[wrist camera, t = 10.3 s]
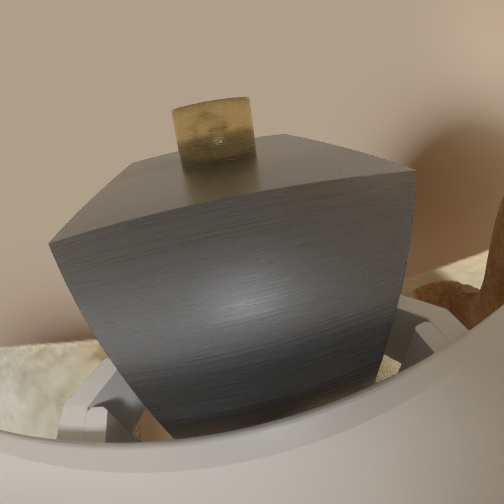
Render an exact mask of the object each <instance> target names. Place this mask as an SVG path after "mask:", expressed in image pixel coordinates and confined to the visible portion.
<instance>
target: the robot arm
mask: <svg viewBox="0 0 504 504" xmlns="http://www.w3.org/2000/svg"><path fill="white" fill-rule="evenodd" d="M384 354H385V355H387V356H389V357H390V358H392V359H394V360H396V361H398V362H400V363H401V367H400V369H399V371H398V373H397V374H395V375H393V376H391V377H389V378H387V379H385V380H383V381H381V382H378V383H376V384H374V385H372V386H370V387H367V388H365V389H363V390H360V391H358V392H356V393H353V394H351V395H348V396H346V397H343V398H341V399H338V400H336V401H333V402H330V403H328V404H325V405H322V406H319V407H316V408H314V409H311V410H308V411H305V412H301V413H298V414H295V415H292V416H288V417H285V418H282V419H278V420H274V421H271V422H267V423H263V424H259V425H255V426H251V427H246V428H242V429H237V430H232V431H227V432H222V433H217V434H211V435H205V436H198V437H191V438H183V439H174V440H164V441H151V442H140V441H139V440H138V439H137V438H136V437H134V436H133V435H132V434H131V433H132V431H133V430H134V428H135V426H136V424H137V422H138V421H139V419H140V417H141V415H142V413H143V412H144V410H145V408H146V407H145V406H144V404H143V403H142V402H141V401H140V399H139V398H138V397H137V396H136V394H135V393H134V392H133V390H132V389H131V388H130V386H129V385H128V384H127V382H126V381H125V380H124V378H123V377H122V376H121V374H120V373H119V371H118V370H117V369H116V367H115V366H114V364H113V363H112V361H111V360H110V358H105V359H104V361H103V362H102V363H101V364H100V365H99V366H98V367H97V368H96V369H95V370H94V372H93V373H92V374H91V375H90V376H89V377H88V378H87V379H86V381H85V382H84V383H83V384H82V385H81V386H80V387H79V388H78V390H77V391H76V392H75V393H74V394H73V395H72V396H71V398H70V399H69V400H68V401H67V402H66V403H65V405H64V406H63V409H62V414H61V419H60V424H59V430H58V436H57V440H55V439H47V438H40V437H33V436H28V435H22V434H17V433H12V432H7V431H3V430H0V504H504V304H503V305H502V306H501V307H500V308H499V309H497V310H496V311H495V312H494V313H492V314H491V315H490V316H488V317H487V318H486V319H484V320H483V321H482V322H480V323H479V324H478V325H476V326H475V327H473V328H472V329H471V330H468V329H467V328H466V327H465V326H464V325H463V324H462V323H461V322H460V321H459V320H458V319H457V318H456V317H455V316H454V315H452V314H451V313H450V312H449V311H448V310H447V309H445V308H442V307H439V306H436V305H432V304H429V303H426V302H423V301H420V300H417V299H414V298H411V297H408V296H404V295H401V294H400V298H399V302H398V306H397V310H396V314H395V318H394V322H393V325H392V329H391V332H390V336H389V339H388V343H387V346H386V349H385V352H384Z"/></svg>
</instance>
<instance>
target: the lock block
mask: <svg viewBox="0 0 504 504" xmlns="http://www.w3.org/2000/svg"><path fill="white" fill-rule="evenodd" d="M172 116H173V122H174V128H175V133H176V139H177V144H178V150H179V151H178V152H175V153H170V154H165V155H161V156H158V157H153V158H149V159H146V160H142V161H138V162H134V163H132V164H131V165H129V166H128V167H127V168H126V169H125V170H123V171H122V172H121V173H120V174H119V175H118V176H116V177H115V178H114V179H113V180H112V181H111V182H110V183H108V185H106V186H105V187H104V188H103V189H102V190H101V191H100V192H99V193H98V194H96V195H95V196H94V197H93V198H92V199H91V200H90V201H89V202H88V203H87V204H86V205H85V206H84V207H83V208H82V209H81V210H80V211H79V212H78V213H77V214H76V215H75V216H74V217H73V218H72V219H71V220H70V221H69V222H68V223H67V224H66V225H65V226H64V227H63V228H62V229H61V230H60V231H59V233H58V234H57V235H56V236H55V237H54V238H53V239H52V240H51V241H50V243H49V246H50V248H51V251H52V253H53V256H54V258H55V260H56V262H57V265H58V267H59V269H60V271H61V273H62V276H63V278H64V280H65V282H66V284H67V286H68V288H69V290H70V292H71V294H72V296H73V298H74V300H75V302H76V304H77V305H78V307H79V309H80V311H81V313H82V314H83V316H84V318H85V320H86V322H87V323H88V325H89V327H90V328H91V330H92V332H93V333H94V335H95V337H96V338H97V340H98V342H99V343H100V345H101V346H102V348H103V349H104V351H105V352H106V354H107V355H108V357H109V358H110V360H111V361H112V363H113V364H114V366H115V367H116V369H117V370H118V371H119V373H120V374H121V376H122V377H123V378H124V380H125V381H126V382H127V384H128V385H129V386H130V388H131V389H132V390H133V392H134V393H135V394H136V396H137V397H138V398H139V399H140V401H141V402H142V403H143V404H144V406H145V407H146V408H147V409H148V410H149V412H150V413H151V414H152V415H153V416H154V417H155V419H156V420H157V421H158V422H159V423H160V424H161V425H162V427H163V428H164V429H165V430H166V431H167V432H168V433H169V434H170V435H171V436H172V437H173V438H174V439H183V438H191V437H198V436H205V435H211V434H217V433H222V432H227V431H232V430H237V429H242V428H246V427H251V426H255V425H259V424H263V423H267V422H271V421H274V420H278V419H282V418H285V417H288V416H292V415H295V414H298V413H301V412H305V411H308V410H311V409H314V408H316V407H319V406H322V405H325V404H328V403H330V402H333V401H336V400H338V399H341V398H343V397H346V396H348V395H351V394H353V393H356V392H358V391H360V390H363V389H365V388H367V387H370V386H372V385H373V384H374V382H375V379H376V376H377V373H378V370H379V367H380V365H381V362H382V359H383V355H384V352H385V349H386V346H387V343H388V339H389V336H390V332H391V329H392V325H393V322H394V318H395V314H396V310H397V306H398V302H399V298H400V293H401V289H402V284H403V279H404V274H405V268H406V264H407V258H408V252H409V246H410V239H411V231H412V224H413V216H414V206H415V195H416V194H415V193H416V180H417V170H414V169H412V168H409V167H406V166H403V165H400V164H397V163H394V162H391V161H388V160H385V159H382V158H379V157H375V156H372V155H369V154H365V153H362V152H358V151H355V150H351V149H347V148H344V147H340V146H336V145H332V144H327V143H324V142H319V141H315V140H310V139H306V138H301V137H296V136H291V135H286V134H281V135H272V136H264V137H257V138H254V130H253V124H252V116H251V109H250V101H249V97H238V98H227V99H220V100H213V101H207V102H202V103H197V104H192V105H188V106H184V107H180V108H176V109H173V110H172Z"/></svg>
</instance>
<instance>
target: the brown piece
mask: <svg viewBox="0 0 504 504" xmlns="http://www.w3.org/2000/svg"><path fill="white" fill-rule="evenodd" d="M409 297H411V298H414V299H417V300H420V301H423V302H426V303H429V304H432V305H436V306H439V307H442V308H445V309H447V310H448V311H449V312H450V313H451V314H452V315H454V316H455V317H456V318H457V319H458V320H459V321H460V322H461V323H462V324H463V325H464V326H465V327H466V328H467V329H468V330H471V329H472V328H473V327H475V326H476V325H478V324H479V323H480V322H482V321H483V320H484V319H486V318H487V317H488V316H490V315H491V314H492V313H494V312H495V311H496V310H497V309H499V308H500V307H501V306H502V305H503V304H504V197H503V199H502V202H501V204H500V207H499V210H498V214H497V217H496V221H495V225H494V229H493V234H492V238H491V243H490V248H489V254H488V260H487V265H486V271H485V276H484V280H483V283H482V287H481V289H480V290H479V289H477V288H474V287H472V286H471V285H466V284H465V285H463V284H461V283H459V282H455V281H438V282H434V283H430V284H427V285H425V286H422V287H419V288H417V289H415V290H414V291H413V292H412V293H411V294H410V296H409Z"/></svg>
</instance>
